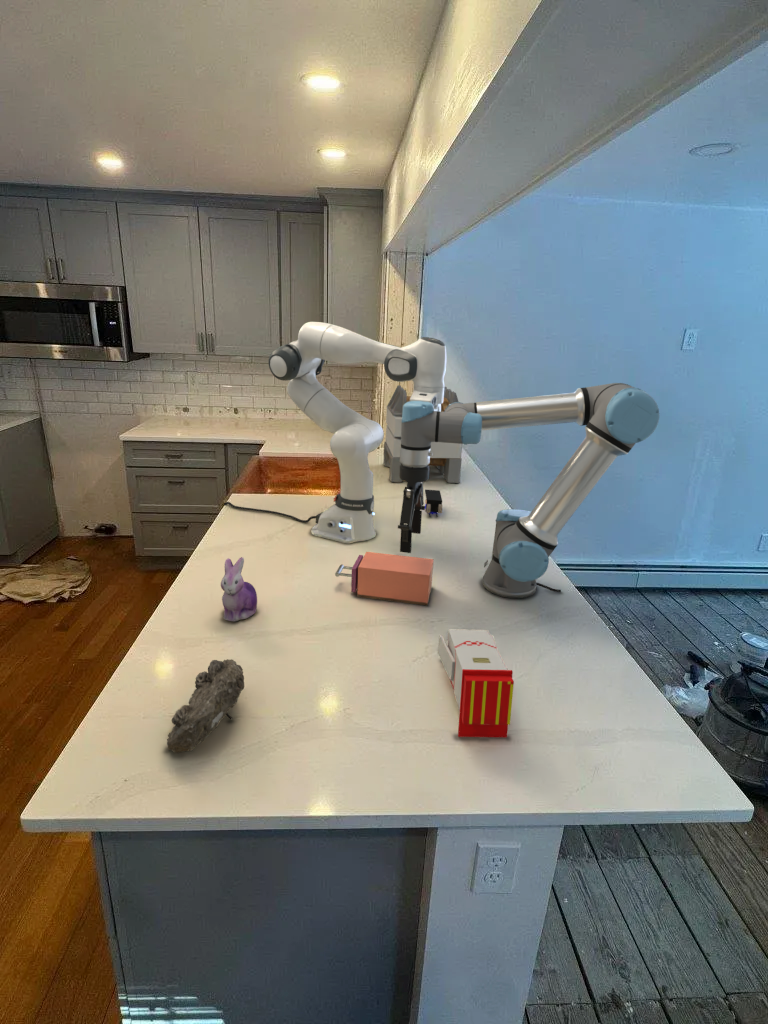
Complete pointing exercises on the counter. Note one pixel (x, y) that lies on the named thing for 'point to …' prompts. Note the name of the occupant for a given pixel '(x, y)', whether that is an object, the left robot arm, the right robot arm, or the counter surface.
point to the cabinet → (395, 578)
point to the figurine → (237, 593)
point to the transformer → (443, 453)
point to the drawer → (354, 573)
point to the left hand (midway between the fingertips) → (425, 442)
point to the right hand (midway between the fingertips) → (410, 542)
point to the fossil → (206, 705)
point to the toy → (478, 682)
